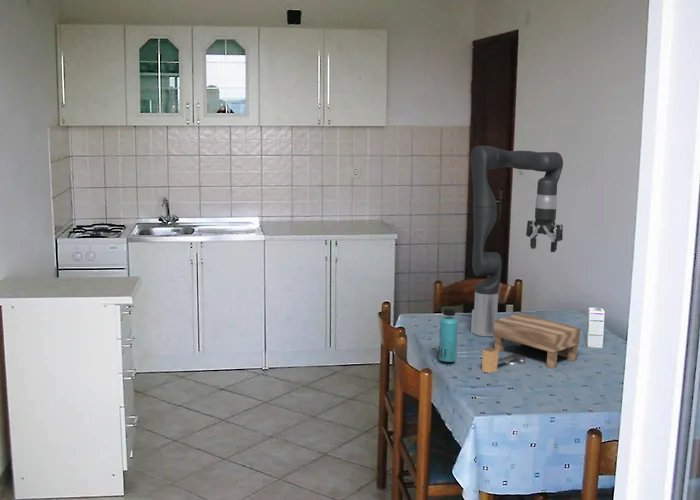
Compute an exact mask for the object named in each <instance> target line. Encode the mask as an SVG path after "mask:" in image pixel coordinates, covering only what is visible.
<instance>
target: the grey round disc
mask: <svg viewBox="0 0 700 500" xmlns="http://www.w3.org/2000/svg"><path fill="white" fill-rule="evenodd" d="M504 363H505V364H506V365H509V366H517V365H518V364H519V363H518V361H516V360H510V361H507V362H504Z"/></svg>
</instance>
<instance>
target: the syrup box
mask: <svg viewBox="0 0 700 500" xmlns="http://www.w3.org/2000/svg"><path fill="white" fill-rule="evenodd" d="M587 311H588V312H587V328H586V342H585V343H586V346H587V348H593V349H595V348H596V349H603V348H604V347H603V346H604V333H605V332H604V330H605V315H606V314H605V313H606V312H605V310H604V308H602V307H588V310H587Z"/></svg>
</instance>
